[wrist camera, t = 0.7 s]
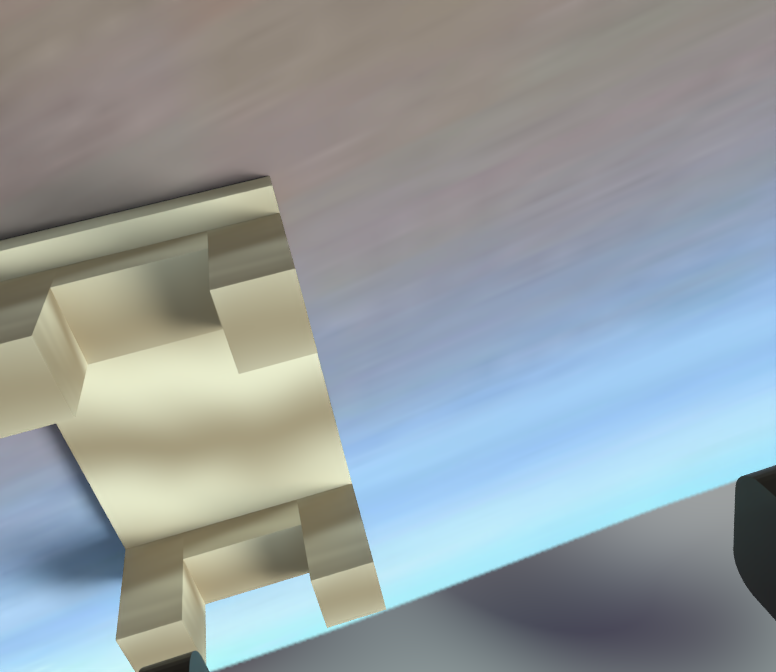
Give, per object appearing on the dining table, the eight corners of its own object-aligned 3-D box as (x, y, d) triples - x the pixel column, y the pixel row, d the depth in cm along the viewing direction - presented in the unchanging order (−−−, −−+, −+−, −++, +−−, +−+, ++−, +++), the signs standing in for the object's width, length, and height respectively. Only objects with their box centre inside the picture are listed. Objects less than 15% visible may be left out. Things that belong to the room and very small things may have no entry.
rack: (-27, 246, 23) (-80, 329, 19) (269, 175, 24) (286, 237, 20) (158, 589, 33) (152, 699, 29) (363, 528, 34) (389, 623, 30)
